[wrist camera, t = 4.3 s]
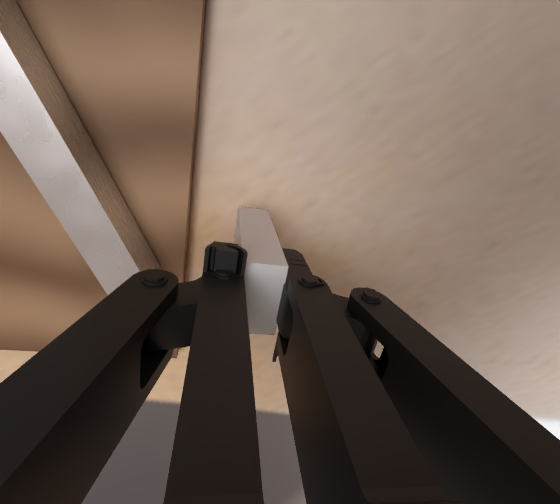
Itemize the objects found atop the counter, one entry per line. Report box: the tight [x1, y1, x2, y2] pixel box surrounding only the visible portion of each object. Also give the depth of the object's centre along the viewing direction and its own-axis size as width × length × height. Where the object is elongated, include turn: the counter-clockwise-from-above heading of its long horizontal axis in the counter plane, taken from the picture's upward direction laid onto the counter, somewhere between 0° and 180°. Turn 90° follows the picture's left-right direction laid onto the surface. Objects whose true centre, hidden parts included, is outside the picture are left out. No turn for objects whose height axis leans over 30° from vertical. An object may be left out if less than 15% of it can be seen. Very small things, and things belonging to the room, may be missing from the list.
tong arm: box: [0, 0, 161, 295], centre depth 13 cm, size 19×3×3 cm, turn 18°
